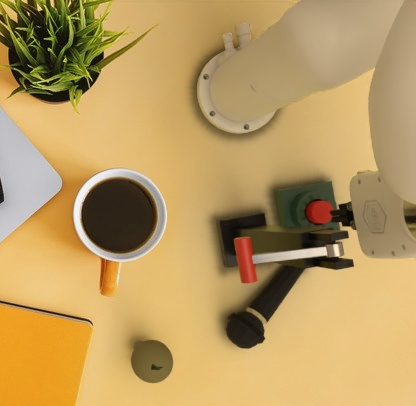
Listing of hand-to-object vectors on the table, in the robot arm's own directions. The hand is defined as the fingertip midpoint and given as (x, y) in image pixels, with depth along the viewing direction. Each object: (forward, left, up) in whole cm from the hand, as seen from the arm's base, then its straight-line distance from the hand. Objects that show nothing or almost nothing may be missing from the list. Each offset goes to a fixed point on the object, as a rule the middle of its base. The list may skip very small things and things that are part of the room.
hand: (340, 214), depth 74 cm
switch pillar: (+2, -10, -9) cm, 14 cm away
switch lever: (+2, -14, +12) cm, 18 cm away
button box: (0, 0, -9) cm, 9 cm away
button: (0, 0, -6) cm, 6 cm away
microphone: (+11, -7, -10) cm, 16 cm away
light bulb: (+15, -28, -10) cm, 33 cm away
